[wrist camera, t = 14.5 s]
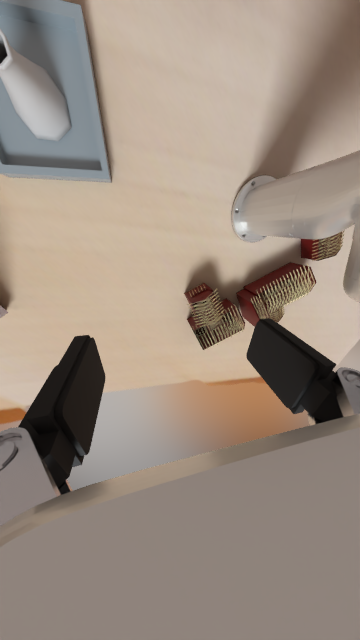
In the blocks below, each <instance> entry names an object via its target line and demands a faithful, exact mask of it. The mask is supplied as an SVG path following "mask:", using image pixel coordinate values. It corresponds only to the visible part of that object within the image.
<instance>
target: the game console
mask: <svg viewBox="0 0 360 640" xmlns="http://www.w3.org/2000/svg"><path fill="white" fill-rule="evenodd" d="M7 313H8V312H7V311H6V310H5V309H4V308H3V307H2V306H1V305H0V318H1V317H2V316H4V315H5V314H7Z"/></svg>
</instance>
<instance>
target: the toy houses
mask: <svg viewBox="0 0 360 640" xmlns="http://www.w3.org/2000/svg"><path fill="white" fill-rule="evenodd" d="M343 233H344V231H343V232H340V233H338V234H335V235H333V236H330V237H327V238H323V239H322V240H321V241H320V242H321V243H320V242H319V239H301V258H306V259H312V260H313V261H314V260H317V261H319V260H322V259H325V258H329V257H332V256H336V254H337V253H338V252H339V250H340V248H341V247H342V246H343V245H341V244H342V243H343V241H342V240H343V239H344V238H343V239H342V240H341V238H342V237H343V236H344V234H343ZM342 234H343V236H342ZM341 241H342V243H341ZM319 243H320V245H321V246H320V245H319ZM340 245H341V247H340ZM319 246H320V247H319ZM289 278H290V280H289ZM287 279H288V280H287ZM286 280H287V281H288V285H287V287H286V284H287V283H286ZM284 281H285V283H284V284H285V288H284V289H283V288H282V289H281V288H280V289H281V290H280V291H278V290H277V288H275V292H276V290H277V292H276V293H274V294H273V292H274V291H273V292H272V295H269V296H268V295H267V293H266V290H268V292H270V291H269V289H270V288H272V287H274V286H275V287H276V285H278V288H279V287H280V285H279V284H280V283H282V282H284ZM289 282H290V284H291V285H289ZM315 284H316V280H315V277H314V275H313V272H312V270H311V267H309V266H308V264H307V266H304V265H300V264H296V263H291V262H290V263H288V264H286V265H284V266H282V267H281V268H279V269H277V270H275V271H273V272H271V273H269V274H267V275H265V276H264V277H262V278H260V279H258V280H256V281H254V282H252V283H250V284H248V285H247V286H245V287H244V289H243V290H241V291H239V292H237V293H236V294H237V298H238V301H239V305H240V309H241V312H242V316H243V317H244V318H245V319H246V320H247V321H249V322H250V323H251V324H252V325H253V326H254V327H255V326H256V323H257V322H258V321H259V320H260V319H265V318H271V319H272V320H274V321H275V322H279V321H280V319H281V318H282V317H283V315H284V313H282V311H283V310H284V309H283V308H284V305H285V304H286V305H287V303H289V304H290V302H291V301H292V302H293V300H294V299H295V301H296V299H297V298H298V297H300V296H301V298H302V296H303V295H304V294H306V293H307V295H308V293H309V292H310V291H311V290H312V288H313V287H314V285H315ZM282 285H283V283H282ZM283 287H284V285H283ZM216 290H217V289H216ZM216 290H215V291H216ZM272 290H273V288H272ZM215 291H213V290H212V289H211V288H210V287H209V286H207V285H206V284H205V283H202V284H201V285H200V284H199V286H197V287H195V288H193V289H191V290H190V291H188V292H186V293H184V294H185V296H186V298H187V300H188V302H189V304H188V305H190V306H191V307H189V308H192V310H190V311H193V312H194V313H191V314H195V315H194V316H192V317H190V318H188V319H187V320H188V322H189V324H190V326H191V328H192V330H194V331H195V330H196V329H198V328H200V327H202V326H206V328H207V330H208V332H207V331H206V333H204V332H203V333H204V334H202V335H201V334H200V336H198V337H197V339H198V341H199V343H200V345H201V347H202V348H203V350H205V349H206V348H207V349H208V347H210V346H212V345H214V344H216V343H218V342H220V341H222V340H224V339H226V338H228V339H229V337H230V336H231V338H232V335H233V334H235V333H237V332H239V333H240V331H241V330H242V332H243V329H244V326H245V322H244V320H243V318H242V316H241V314H240V311H239V309H238V307H236V306H235V304H233V303H231V302H230V301H229V300H228V299H227V298H226V299H224V300H222V301H220V302H219V303H218V302H217V300H216V298H217V297H218V296H217V297H215V295H216V294H217V293H218V292H217V293H216V294H214V292H215ZM263 292H265V295H267V297H266V298H267V299H265V298H264V299H265V300H262V299H263V297H264V296H262V298H260V296H259V294H261V293H262V295H263ZM270 294H271V293H270ZM304 296H305V295H304ZM304 296H303V297H304ZM208 297H209V298H208ZM207 298H208V299H209V300H210V301H209V300H208V301H209V302H211V303H210V304H209V305H208V306H207V304H208V301H207ZM298 299H299V298H298ZM298 299H297V300H298ZM201 301H202V303H203V302H204V305H206V307H205V308H206V309H205V310H204V307H203V306H204V305H203V304H200V305H202V307H201V306H200V307H201V308H203V310H202V309H201V310H202V311H200V310H199V313H198V310H197V308H196V309H195V308H194V307H195V306H196V305H195V306H193V303H197V302H200V303H201ZM205 301H207V302H206V303H205ZM292 302H291V303H292ZM198 304H199V303H198ZM198 304H197V306H199V305H198ZM211 304H212V306H211ZM289 304H288V305H289ZM286 305H285V306H286ZM209 306H211V307H209ZM207 307H209V308H207ZM198 309H200V308H199V307H198ZM282 309H283V310H282ZM196 310H197V312H196ZM229 312H230V314H231V317H232V319H231V320H229V321H227V320H226V318H225V320H226V321H227V322H225V323H224V322H223V321H222V322H223V324H221V325H219V326H218V324H219V322H218V324H217V323H216V322H217V321H219V319H220V318H221V317H222V316H223V315H225V314H227V313H229ZM283 312H284V311H283ZM197 313H198V314H197ZM282 314H283V315H282ZM227 316H228V314H227ZM219 317H220V318H219ZM224 317H225V316H224ZM228 317H229V316H228ZM217 318H219V319H218V320H217V321H215V320H216V319H217ZM222 318H223V317H222ZM222 318H221V319H222ZM228 319H230V318H228ZM220 321H221V320H220ZM211 322H213V323H212V324H214V325H215V323H216V326H217V327H216V326H214V325H212V326H213V327H214V328H213V329H212V330H211V326H210V325H211V324H210V323H211ZM214 322H215V323H214ZM205 330H206V329H205ZM194 331H193V332H194ZM198 331H199V330H198ZM202 331H203V330H202ZM199 333H200V332H199ZM217 345H218V344H217ZM213 347H214V346H213ZM210 348H211V347H210Z"/></svg>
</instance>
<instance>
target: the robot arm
mask: <svg viewBox="0 0 360 640" xmlns="http://www.w3.org/2000/svg"><path fill="white" fill-rule="evenodd" d="M251 184H252V185H251ZM235 210H236V212H235ZM231 219H232V226H233V229H234V231H235V233H236V235H237V236H238V237H239V238H240V239H242V240H243V241H246V242H257V241H260V240H262V239H264V238H266V237H267V236H272V237H286V238H299V239H323V238H327V237H330V236H333V235H335V234H338V233H340V232H342V231H343V230H345V229H347V228H349V227H350V226H352V225H353V224H355V228H354V233H353V241H352V246H351V250H350V254H349V258H348V262H347V266H346V270H345V274H344V280H343V287H344V290H345V293H346V294H347V295H348V296H349V297H350V298H352V299H353V300H355V301H357V302H360V150H359V151H356V152H354V153H351V154H349V155H346V156H343V157H340V158H337V159H335V160H332V161H329V162H326V163H323V164H320V165H317V166H314V167H311V168H309V169H306V170H303V171H300V172H297V173H294V174H291V175H288V176H285V177H282V178H279V179H275V178H274V177H272V176H268V175H261V176H258V177H255V178H253V179H251V180H250V181H249V182H247V183H246V184H245V185H244V186H243V187H242V188H241V190H240V191H239V193H238V194H237V197H236V199H235V201H234V204H233V208H232V218H231ZM242 235H243V236H242ZM247 359H248V361H249V362H250V363H251V364H252V366H253V367H254V368H255V369H256V371H257V372H258V373H259V374H260V375H261V377H262V378H263V379H264V380H265V382H266V383H267V384H268V385H269V387H270V388H271V389H272V390H273V391H274V393H275V394H276V395H277V396H278V398H279V399H280V400H281V401H282V403H283V404H284V405H285V406H286V407H287V408H289V409H290V410H291V411H292V413H293V414H297V413H300V412H303V411H304V409H305V410H306V411H307V412H308V420H309V426H307V427H303V428H299V429H295V430H291V431H287V432H284V433H280V434H276V435H272V436H268V437H265V438H261V439H257V440H253V441H249V442H246V443H241V444H238V445H234V446H230V447H227V448H222V449H219V450H215V451H211V452H207V453H204V454H200V455H196V456H192V457H189V458H185V459H181V460H177V461H174V462H170V463H166V464H162V465H159V466H155V467H151V468H147V469H144V470H140V471H137V472H133V473H130V474H126V475H123V476H120V477H116V478H112V479H109V480H106V481H103V482H99V483H95V484H92V485H89V486H86V487H83V488H80V489H77V490H74V491H73V490H72V488H71V486H70V485H69V482H68V480H67V478H68V477H69V476H70V472H71V469H72V467H75V466H79V465H82V462H83V458H84V455H87V454H88V453H89V450H90V446H91V442H92V437H93V432H94V428H95V424H96V419H97V415H98V410H99V406H100V401H101V397H102V392H103V388H104V383H105V373H104V370H103V366H102V363H101V360H100V356H99V353H98V350H97V346H96V343H95V340H94V338H90V336H89V335H84V336H76V337H74V339H73V341H72V342H71V344H70V346H69V347H68V349H67V351H66V353H65V354H64V356H63V358H62V359H61V361H60V363H59V364H58V365H57V366H56V367H55V368H54V369H53V370H52V372H51V374H50V375H49V377H48V379H47V380H46V382H45V383H44V385H43V387H42V388H41V390H40V392H39V393H38V395H37V397H36V398H35V400H34V402H33V403H32V405H31V407H30V408H29V410H28V412H27V413H26V415H25V417H24V418H23V420H22V421H21V423H20V425H19V427H16V428H10V429H7V430H4V431H1V432H0V640H360V372H359V371H357V370H354V369H350V368H339V369H338V370H337V372H336V373H335V372H334V371H332V370H333V368H334V367H335V366H336V364H335V363H333V362H332V361H331V360H329V359H328V358H326V357H325V356H324V355H322V354H321V353H319V352H318V351H316V350H315V349H314V348H312V347H311V346H309V345H308V344H306V343H305V342H304V341H302V340H301V339H299V338H298V337H297V336H295V335H294V334H292V333H291V332H289V331H288V330H287V329H285V328H284V327H282V326H281V325H279V324H278V323H277V322H275V321H274V320H272V319H271V318H265V319H260V320H259V321H258V322H257V323H256V326H255V329H254V332H253V335H252V339H251V342H250V345H249V348H248V351H247Z"/></svg>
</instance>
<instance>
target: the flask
mask: <svg viewBox="0 0 360 640" xmlns="http://www.w3.org/2000/svg"><path fill="white" fill-rule="evenodd" d="M0 77H1V79H2V81H3V83H4V86H5V88H6V90H7V92H8V94H9V97H10V99H11V101H12V104H13V106H14V109H15V111H16V113H17V115H18V116H19V117H20V118H21V119H22V121H23V122H24V123H25V124H26V126H27V127H28V128H29V129H30V130H31V132H32V133H33V134H34V135H35V137H36V138H37V139H44V140H51V141H59V140H60V139H61V138H62V137H63V136H64V135H65V134H66V133H67V132H68V131H69V130H70V129H71V123H70V118H69V113H68V108H67V103H66V99H65V97H64V96H63V94H62V93H61V91H60V90H59V88H58V87H57V85H56V84H55V82H54V81H53V79H52V78H51V76H50V75H49V74H48V72H47V71H46V70H45V69H44V68H42V67H40V66H38V65H37V64H35V63H33V62H31V61H30V60H28V59H27V58H25V57H24V56H22V55H20V54H19V53H17V52H16V51H15V50H14V49H13V48H12V47H11V46H10V45H9V42H8V39H7V37H6V36H5V34H4V33H3V32H2V30H1V29H0Z"/></svg>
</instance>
